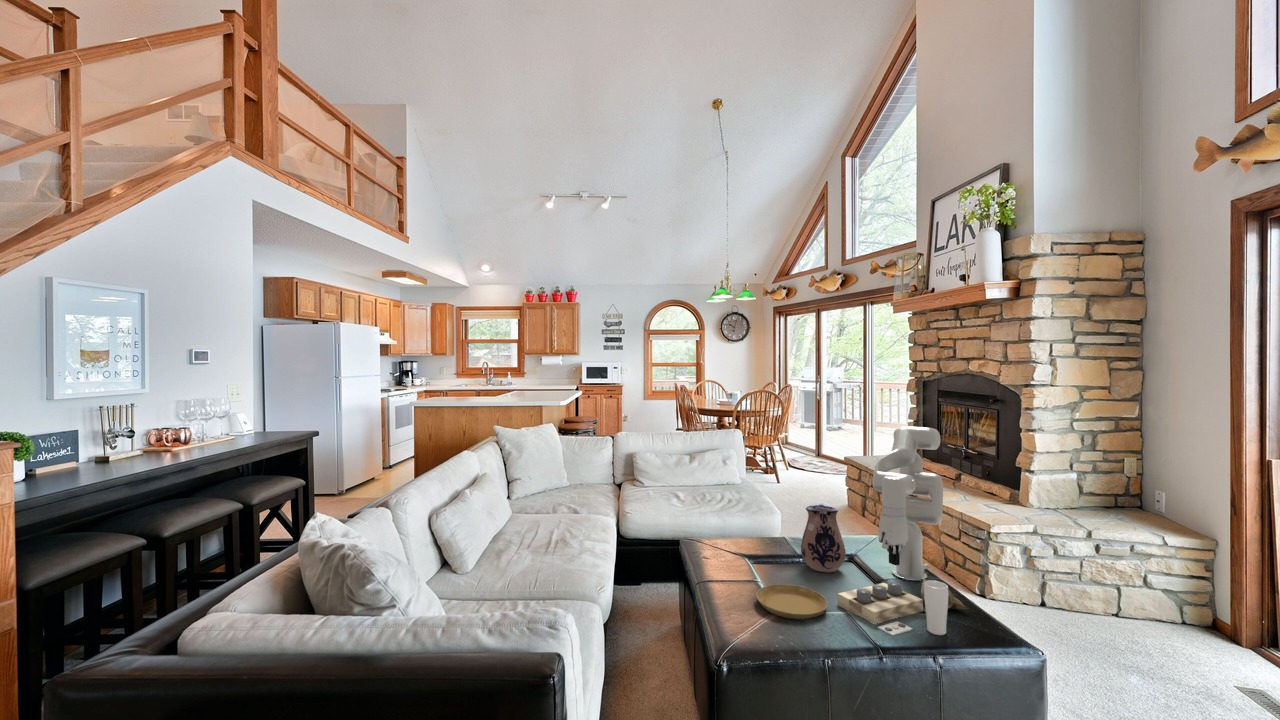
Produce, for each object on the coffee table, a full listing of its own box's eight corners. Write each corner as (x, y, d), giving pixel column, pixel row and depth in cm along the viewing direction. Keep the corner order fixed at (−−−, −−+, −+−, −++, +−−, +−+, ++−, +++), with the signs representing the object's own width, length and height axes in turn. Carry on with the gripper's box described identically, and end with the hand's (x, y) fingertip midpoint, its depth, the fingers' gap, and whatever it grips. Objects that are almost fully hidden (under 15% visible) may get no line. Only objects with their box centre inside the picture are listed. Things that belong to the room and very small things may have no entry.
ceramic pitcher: (805, 575, 216) (805, 513, 216) (796, 557, 237) (796, 501, 237) (850, 577, 214) (850, 514, 214) (837, 559, 235) (837, 502, 235)
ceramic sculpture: (935, 572, 196) (970, 591, 182) (935, 595, 196) (970, 616, 182) (911, 575, 193) (945, 595, 179) (911, 599, 194) (944, 620, 179)
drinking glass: (919, 627, 173) (919, 580, 173) (939, 626, 173) (939, 579, 174) (933, 637, 166) (932, 588, 166) (953, 636, 167) (953, 588, 167)
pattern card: (897, 622, 176) (897, 620, 176) (912, 629, 171) (912, 628, 171) (877, 628, 172) (877, 626, 172) (892, 635, 167) (892, 633, 167)
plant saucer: (839, 607, 188) (839, 597, 188) (806, 630, 171) (806, 620, 171) (778, 587, 205) (778, 578, 205) (743, 607, 188) (743, 597, 188)
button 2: (893, 594, 193) (893, 580, 193) (905, 599, 189) (904, 585, 189) (884, 596, 191) (884, 582, 191) (895, 601, 187) (895, 587, 187)
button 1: (863, 601, 187) (863, 587, 187) (874, 607, 183) (874, 592, 183) (853, 604, 185) (853, 590, 185) (864, 609, 181) (864, 595, 181)
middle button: (878, 597, 190) (878, 584, 190) (889, 603, 186) (889, 589, 186) (869, 600, 188) (869, 586, 188) (880, 605, 184) (880, 591, 184)
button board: (884, 593, 199) (884, 582, 199) (922, 611, 184) (922, 599, 184) (837, 604, 189) (837, 593, 189) (874, 624, 175) (874, 612, 175)
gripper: (899, 507, 197) (899, 558, 196) (870, 511, 191) (870, 563, 190) (917, 512, 190) (918, 564, 189) (887, 515, 184) (887, 570, 183)
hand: (894, 563), depth 190 cm, fingers closed
